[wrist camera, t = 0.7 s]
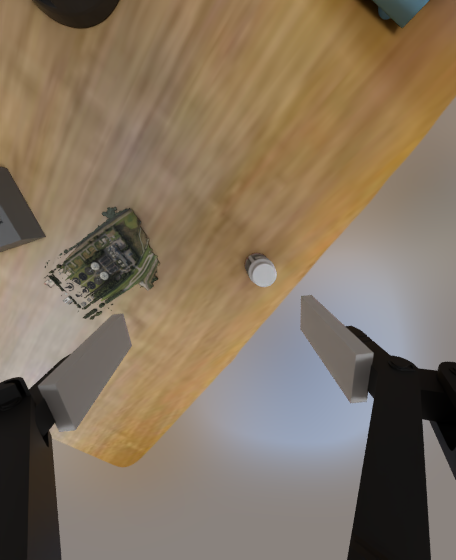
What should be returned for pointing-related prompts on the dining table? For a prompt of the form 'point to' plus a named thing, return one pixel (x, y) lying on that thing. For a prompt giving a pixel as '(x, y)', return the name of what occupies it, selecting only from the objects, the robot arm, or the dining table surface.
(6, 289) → the dining table surface
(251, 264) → the pill bottle
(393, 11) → the teapot
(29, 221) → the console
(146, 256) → the treatment plant
